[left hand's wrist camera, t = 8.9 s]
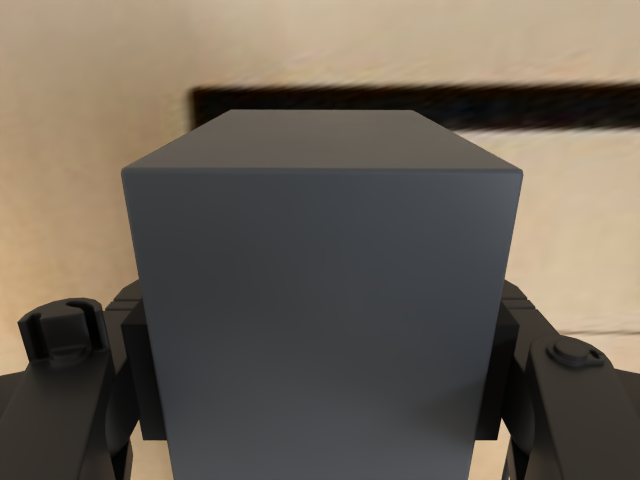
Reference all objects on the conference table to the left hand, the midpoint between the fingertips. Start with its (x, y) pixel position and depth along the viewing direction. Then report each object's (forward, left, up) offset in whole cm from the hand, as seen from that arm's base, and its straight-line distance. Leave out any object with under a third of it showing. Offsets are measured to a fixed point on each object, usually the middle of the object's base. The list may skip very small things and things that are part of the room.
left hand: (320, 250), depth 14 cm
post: (+19, +14, -1) cm, 23 cm away
